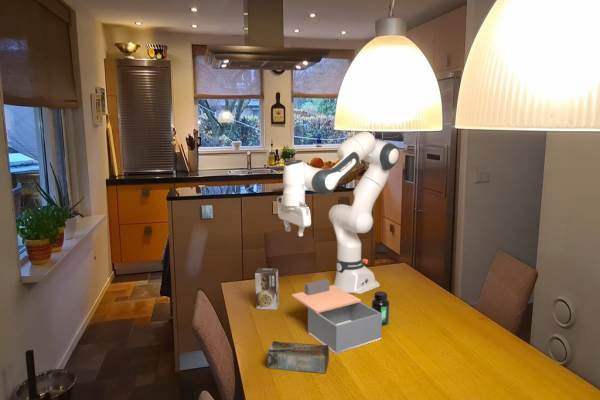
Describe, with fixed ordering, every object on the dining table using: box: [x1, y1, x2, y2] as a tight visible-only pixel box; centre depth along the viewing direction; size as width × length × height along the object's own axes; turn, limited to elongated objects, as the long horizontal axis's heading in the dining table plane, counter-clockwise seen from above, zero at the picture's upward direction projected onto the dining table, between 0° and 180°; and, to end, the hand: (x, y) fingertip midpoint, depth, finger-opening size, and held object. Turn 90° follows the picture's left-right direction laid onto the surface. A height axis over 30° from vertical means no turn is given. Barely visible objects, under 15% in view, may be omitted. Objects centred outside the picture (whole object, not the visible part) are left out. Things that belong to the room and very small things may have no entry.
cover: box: [291, 279, 362, 313], centre depth 171 cm, size 20×18×5 cm
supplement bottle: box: [371, 290, 390, 327], centre depth 174 cm, size 7×7×12 cm
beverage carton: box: [266, 340, 330, 374], centre depth 144 cm, size 8×19×7 cm, turn 80°
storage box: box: [307, 301, 383, 355], centre depth 162 cm, size 20×18×10 cm
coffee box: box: [254, 267, 280, 311], centre depth 188 cm, size 9×6×16 cm
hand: (294, 233), depth 183 cm, fingers open, 8 cm apart
